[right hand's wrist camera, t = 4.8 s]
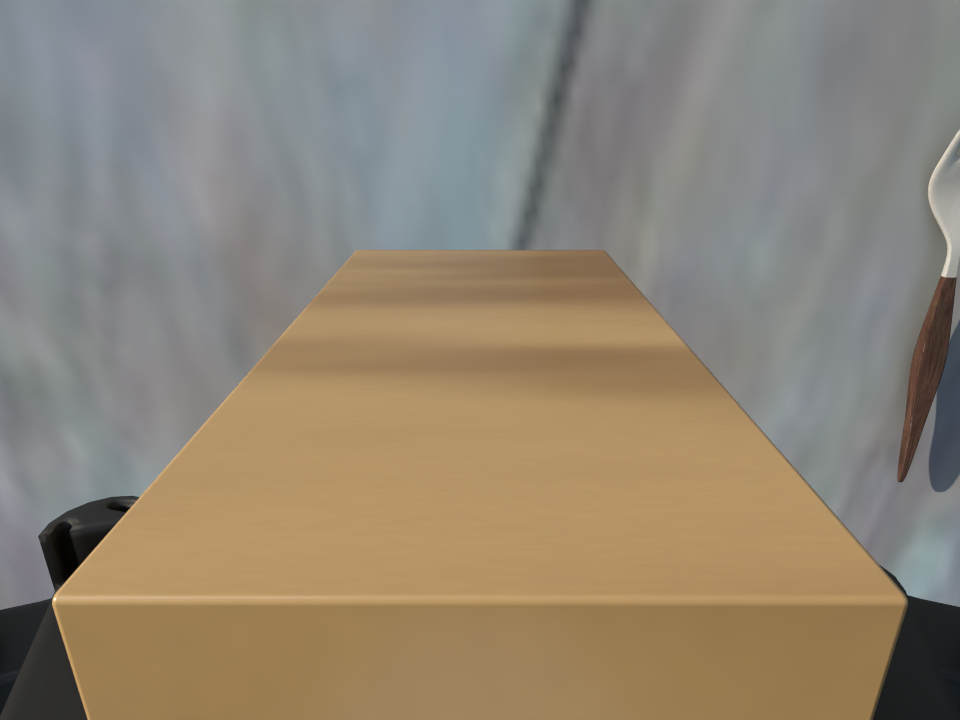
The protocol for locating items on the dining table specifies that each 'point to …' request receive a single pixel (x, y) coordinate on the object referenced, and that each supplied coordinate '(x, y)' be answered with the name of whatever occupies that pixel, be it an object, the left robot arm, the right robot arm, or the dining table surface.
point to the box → (480, 525)
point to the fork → (934, 307)
